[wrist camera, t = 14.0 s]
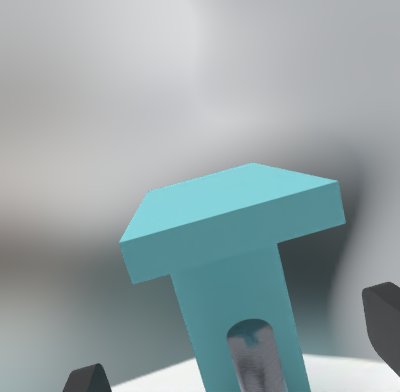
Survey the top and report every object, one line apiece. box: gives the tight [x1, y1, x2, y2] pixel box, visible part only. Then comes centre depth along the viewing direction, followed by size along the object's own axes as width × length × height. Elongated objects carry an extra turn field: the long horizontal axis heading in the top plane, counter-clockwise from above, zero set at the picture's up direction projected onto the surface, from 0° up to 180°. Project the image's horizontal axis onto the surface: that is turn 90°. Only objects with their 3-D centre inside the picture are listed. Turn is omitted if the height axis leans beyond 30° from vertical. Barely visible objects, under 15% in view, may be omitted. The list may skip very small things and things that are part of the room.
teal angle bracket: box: [119, 163, 346, 392], centre depth 23 cm, size 10×15×28 cm, turn 5°
